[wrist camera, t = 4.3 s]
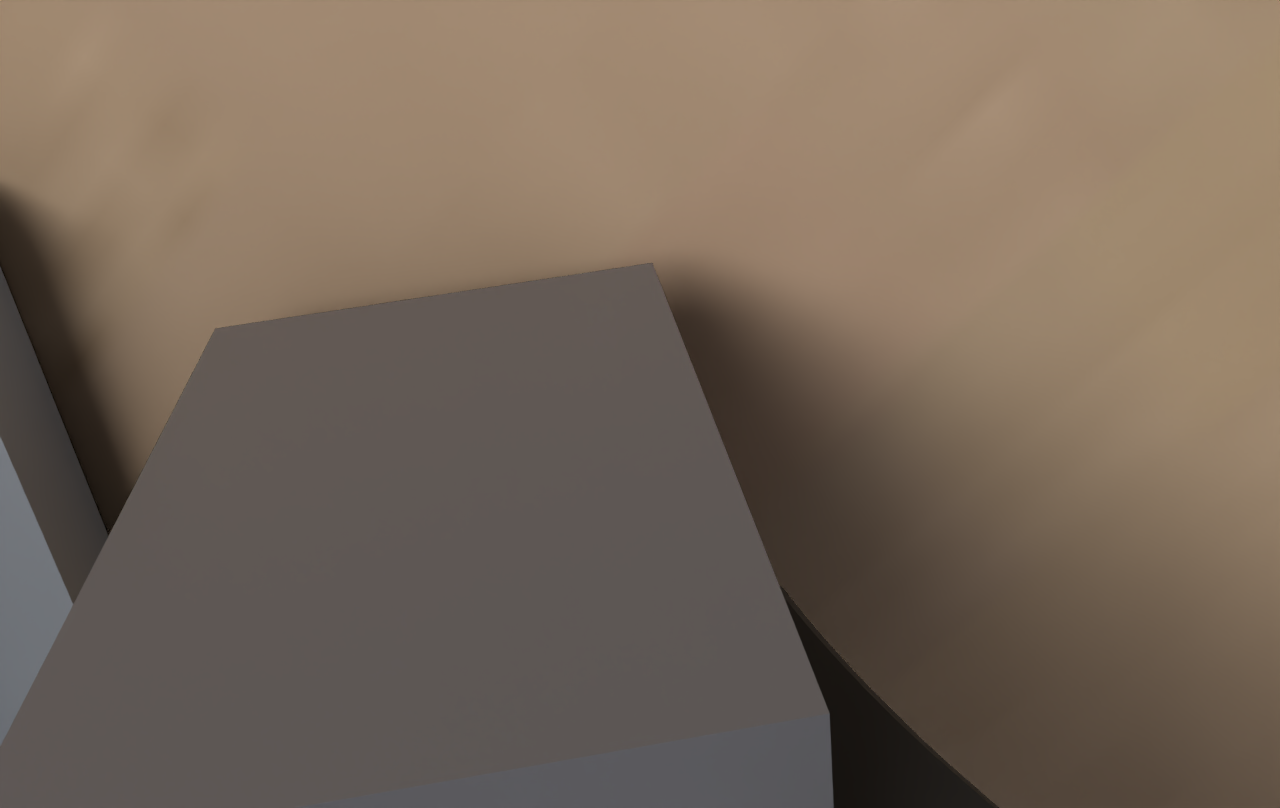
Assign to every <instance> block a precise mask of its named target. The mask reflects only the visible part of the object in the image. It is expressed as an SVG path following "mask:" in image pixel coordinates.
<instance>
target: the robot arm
mask: <svg viewBox="0 0 1280 808" xmlns="http://www.w3.org/2000/svg"><path fill="white" fill-rule="evenodd" d="M780 589H781V591H782V594H783V596H784V599H785V601H786V604H787V606H788V609H789V611H790V614H791V617H792V619H793V622H794V624H795V627H796V629H797V632H798V634H799V637H800V639H801V642H802V644H803V647H804V650H805V652H806V655H807V657H808V660H809V662H810V665H811V667H812V670H813V672H814V675H815V678H816V680H817V683H818V685H819V688H820V690H821V693H822V695H823V698H824V700H825V703H826V705H827V708H828V711H829V713H830V733H831V757H832V780H833V804H834V808H999V807H998V806H996V805H995V804H994V803H993V802H992V801H990V800H989V799H988V798H987V797H986V796H985V795H983V794H982V793H981V792H980V791H979V790H978V789H977V788H976V787H974V786H973V785H972V784H971V783H970V782H969V781H968V780H966V779H965V778H964V777H963V776H962V775H961V774H960V773H958V772H957V771H956V770H955V769H954V768H953V767H952V766H950V765H949V764H948V763H947V762H946V761H945V760H944V759H943V758H942V757H940V756H939V755H938V754H937V753H936V752H935V751H934V750H933V749H932V748H931V747H930V746H929V745H928V744H927V743H925V742H924V741H923V740H922V739H921V738H920V737H919V736H918V735H917V734H916V733H915V732H914V731H913V730H912V729H911V728H910V727H909V726H908V725H907V724H906V723H905V722H904V721H903V720H902V719H901V718H900V717H899V716H898V715H897V714H896V713H895V712H894V711H893V710H892V709H891V708H890V707H889V706H888V705H887V704H886V703H885V702H883V701H882V700H881V699H880V698H879V697H878V696H877V695H876V694H875V693H874V692H873V691H872V690H871V689H870V688H869V686H868V685H867V684H866V683H865V682H864V681H863V680H862V679H861V678H860V677H859V676H858V675H857V674H856V673H855V672H854V671H853V670H852V669H851V668H850V666H849V665H848V664H847V663H846V662H845V661H844V660H843V659H842V658H841V657H840V655H839V654H838V653H837V652H836V651H835V650H834V649H833V648H832V647H831V646H830V644H829V643H828V642H827V641H826V640H825V639H824V638H823V636H822V635H821V634H820V633H819V632H818V631H817V630H816V628H815V627H814V626H813V625H812V624H811V622H810V621H809V620H808V619H807V618H806V617H805V615H804V614H803V613H802V612H801V610H800V609H799V608H798V607H797V605H796V604H795V603H794V602H793V600H792V599H791V598H790V597H789V595H788V594H787V593H786V591H785V590H784V589H783V588H782V587H781V586H780Z"/></svg>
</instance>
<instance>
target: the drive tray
mask: <svg viewBox="0 0 1280 808" xmlns="http://www.w3.org/2000/svg"><path fill="white" fill-rule="evenodd" d="M107 538H108V534H107V531H106V529H105V526H104V524H103V521H102V519H101V516H100V514H99V511H98V509H97V506H96V504H95V501H94V499H93V496H92V494H91V491H90V489H89V486H88V484H87V481H86V479H85V476H84V474H83V471H82V469H81V466H80V464H79V461H78V459H77V456H76V454H75V451H74V449H73V446H72V444H71V441H70V439H69V436H68V434H67V432H66V429H65V427H64V424H63V422H62V419H61V417H60V414H59V412H58V409H57V407H56V404H55V402H54V399H53V397H52V394H51V392H50V389H49V387H48V384H47V382H46V379H45V377H44V374H43V372H42V369H41V367H40V364H39V362H38V359H37V357H36V354H35V352H34V349H33V347H32V344H31V342H30V339H29V337H28V334H27V332H26V329H25V327H24V324H23V322H22V319H21V317H20V314H19V312H18V309H17V307H16V304H15V302H14V299H13V297H12V294H11V292H10V289H9V287H8V284H7V282H6V280H5V277H4V275H3V272H2V270H1V267H0V746H1V744H2V742H3V740H4V738H5V736H6V734H7V732H8V731H9V729H10V727H11V725H12V723H13V721H14V719H15V717H16V715H17V713H18V711H19V709H20V707H21V705H22V703H23V701H24V699H25V698H26V696H27V694H28V692H29V690H30V688H31V686H32V684H33V682H34V680H35V678H36V676H37V674H38V672H39V670H40V668H41V666H42V664H43V663H44V661H45V659H46V657H47V655H48V653H49V651H50V649H51V647H52V645H53V643H54V641H55V639H56V637H57V635H58V633H59V631H60V629H61V628H62V626H63V624H64V622H65V620H66V618H67V616H68V614H69V612H70V610H71V608H72V606H73V604H74V602H75V600H76V598H77V596H78V594H79V593H80V591H81V589H82V587H83V585H84V583H85V581H86V579H87V577H88V575H89V573H90V571H91V569H92V567H93V565H94V563H95V561H96V560H97V558H98V556H99V554H100V552H101V550H102V548H103V546H104V544H105V542H106V540H107Z"/></svg>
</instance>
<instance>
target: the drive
mask: <svg viewBox="0 0 1280 808" xmlns="http://www.w3.org/2000/svg"><path fill="white" fill-rule="evenodd" d="M0 808H834V804H833V780H832V757H831V733H830V713H829V711H828V708H827V705H826V703H825V700H824V698H823V695H822V693H821V690H820V688H819V685H818V683H817V680H816V678H815V675H814V672H813V670H812V667H811V665H810V662H809V660H808V657H807V655H806V652H805V650H804V647H803V644H802V642H801V639H800V637H799V634H798V632H797V629H796V627H795V624H794V622H793V619H792V617H791V614H790V611H789V609H788V606H787V604H786V601H785V599H784V596H783V594H782V591H781V589H780V586H779V584H778V581H777V578H776V576H775V573H774V571H773V568H772V566H771V563H770V561H769V558H768V556H767V553H766V550H765V548H764V545H763V543H762V540H761V538H760V535H759V533H758V530H757V528H756V525H755V523H754V520H753V517H752V515H751V512H750V510H749V507H748V505H747V502H746V500H745V497H744V495H743V492H742V490H741V487H740V484H739V482H738V479H737V477H736V474H735V472H734V469H733V467H732V464H731V462H730V459H729V457H728V454H727V451H726V449H725V446H724V444H723V441H722V439H721V436H720V434H719V431H718V429H717V426H716V423H715V421H714V418H713V416H712V413H711V411H710V408H709V406H708V403H707V401H706V398H705V396H704V393H703V390H702V388H701V385H700V383H699V380H698V378H697V375H696V373H695V370H694V368H693V365H692V363H691V360H690V357H689V355H688V352H687V350H686V347H685V345H684V342H683V340H682V337H681V335H680V332H679V330H678V327H677V324H676V322H675V319H674V317H673V314H672V312H671V309H670V307H669V304H668V302H667V299H666V296H665V294H664V291H663V289H662V286H661V284H660V281H659V279H658V276H657V274H656V271H655V269H654V266H653V263H648V264H641V265H635V266H628V267H622V268H615V269H608V270H602V271H595V272H588V273H582V274H575V275H568V276H562V277H555V278H548V279H542V280H535V281H528V282H522V283H515V284H508V285H502V286H495V287H488V288H482V289H475V290H468V291H462V292H455V293H448V294H442V295H435V296H428V297H422V298H415V299H408V300H402V301H395V302H389V303H382V304H375V305H369V306H362V307H355V308H349V309H342V310H335V311H329V312H322V313H315V314H309V315H302V316H295V317H289V318H282V319H275V320H269V321H262V322H255V323H249V324H242V325H235V326H229V327H222V328H215V330H214V332H213V334H212V336H211V338H210V340H209V342H208V344H207V346H206V348H205V350H204V352H203V353H202V355H201V357H200V359H199V361H198V363H197V365H196V367H195V369H194V371H193V373H192V375H191V377H190V379H189V381H188V383H187V385H186V387H185V388H184V390H183V392H182V394H181V396H180V398H179V400H178V402H177V404H176V406H175V408H174V410H173V412H172V414H171V416H170V418H169V420H168V422H167V423H166V425H165V427H164V429H163V431H162V433H161V435H160V437H159V439H158V441H157V443H156V445H155V447H154V449H153V451H152V453H151V455H150V456H149V458H148V460H147V462H146V464H145V466H144V468H143V470H142V472H141V474H140V476H139V478H138V480H137V482H136V484H135V486H134V488H133V490H132V491H131V493H130V495H129V497H128V499H127V501H126V503H125V505H124V507H123V509H122V511H121V513H120V515H119V517H118V519H117V521H116V523H115V525H114V526H113V528H112V530H111V532H110V534H109V536H108V538H107V540H106V542H105V544H104V546H103V548H102V550H101V552H100V554H99V556H98V558H97V560H96V561H95V563H94V565H93V567H92V569H91V571H90V573H89V575H88V577H87V579H86V581H85V583H84V585H83V587H82V589H81V591H80V593H79V594H78V596H77V598H76V600H75V602H74V604H73V606H72V608H71V610H70V612H69V614H68V616H67V618H66V620H65V622H64V624H63V626H62V628H61V629H60V631H59V633H58V635H57V637H56V639H55V641H54V643H53V645H52V647H51V649H50V651H49V653H48V655H47V657H46V659H45V661H44V663H43V664H42V666H41V668H40V670H39V672H38V674H37V676H36V678H35V680H34V682H33V684H32V686H31V688H30V690H29V692H28V694H27V696H26V698H25V699H24V701H23V703H22V705H21V707H20V709H19V711H18V713H17V715H16V717H15V719H14V721H13V723H12V725H11V727H10V729H9V731H8V732H7V734H6V736H5V738H4V740H3V742H2V744H1V746H0Z"/></svg>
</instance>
